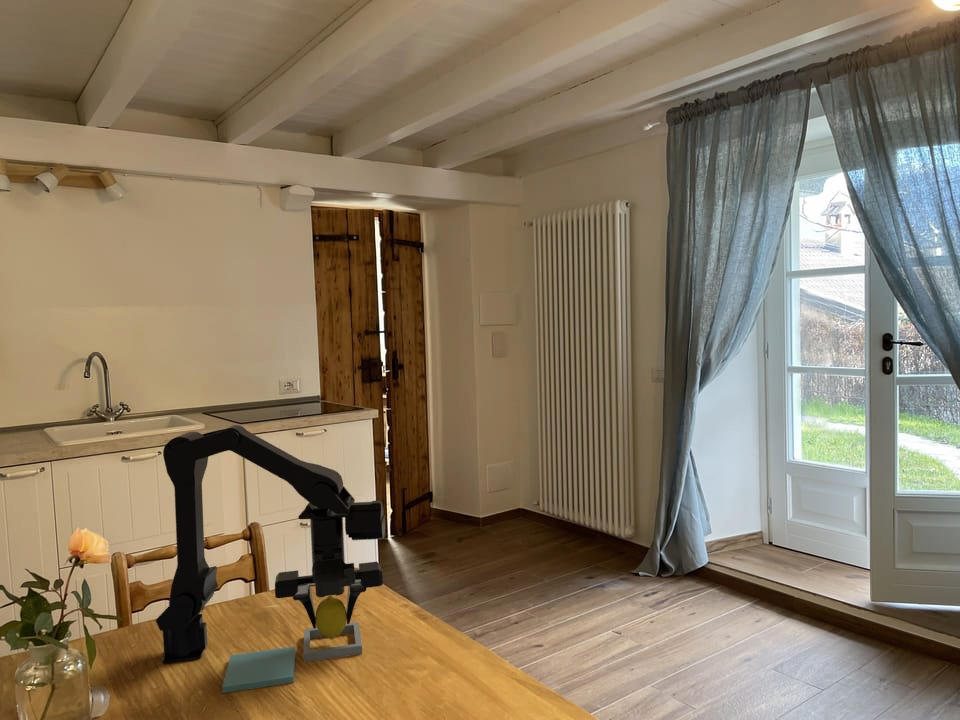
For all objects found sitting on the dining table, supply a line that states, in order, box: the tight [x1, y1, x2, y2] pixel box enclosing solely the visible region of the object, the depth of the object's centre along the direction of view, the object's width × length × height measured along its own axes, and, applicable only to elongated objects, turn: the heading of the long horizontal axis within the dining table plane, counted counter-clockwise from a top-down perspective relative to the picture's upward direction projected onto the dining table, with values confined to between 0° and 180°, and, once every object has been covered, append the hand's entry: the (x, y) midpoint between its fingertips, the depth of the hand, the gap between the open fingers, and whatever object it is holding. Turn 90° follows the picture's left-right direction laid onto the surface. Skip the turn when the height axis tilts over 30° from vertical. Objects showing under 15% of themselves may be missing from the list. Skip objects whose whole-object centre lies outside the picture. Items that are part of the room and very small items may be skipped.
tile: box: [221, 645, 297, 694], centre depth 117 cm, size 11×11×1 cm
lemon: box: [315, 595, 347, 640], centre depth 125 cm, size 6×6×8 cm
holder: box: [303, 621, 363, 663], centre depth 126 cm, size 10×10×2 cm
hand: (331, 625), depth 125 cm, fingers closed on lemon, 5 cm apart
